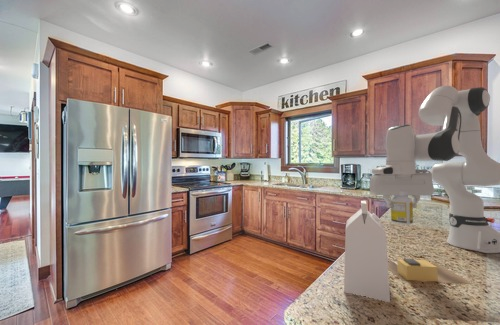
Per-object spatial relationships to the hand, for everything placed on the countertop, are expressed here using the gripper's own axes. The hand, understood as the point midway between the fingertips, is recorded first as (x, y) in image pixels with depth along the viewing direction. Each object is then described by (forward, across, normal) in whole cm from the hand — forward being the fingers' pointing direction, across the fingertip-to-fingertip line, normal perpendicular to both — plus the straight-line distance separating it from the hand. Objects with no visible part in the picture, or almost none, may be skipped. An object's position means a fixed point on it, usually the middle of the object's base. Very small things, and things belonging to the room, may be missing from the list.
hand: (401, 207), depth 78 cm
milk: (+22, +18, +13) cm, 31 cm away
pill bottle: (+6, 0, 0) cm, 6 cm away
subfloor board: (+22, -4, +4) cm, 23 cm away
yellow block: (+21, 0, +8) cm, 22 cm away
